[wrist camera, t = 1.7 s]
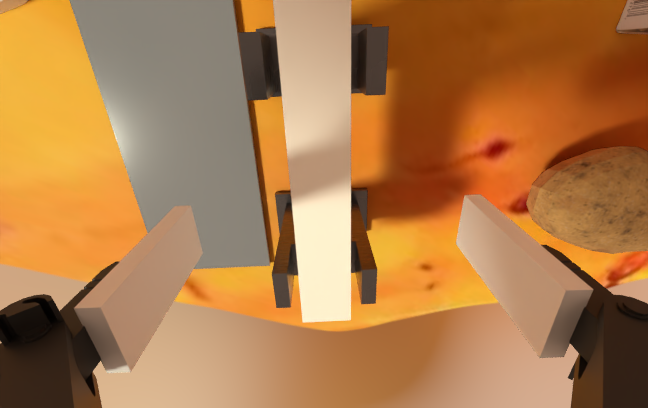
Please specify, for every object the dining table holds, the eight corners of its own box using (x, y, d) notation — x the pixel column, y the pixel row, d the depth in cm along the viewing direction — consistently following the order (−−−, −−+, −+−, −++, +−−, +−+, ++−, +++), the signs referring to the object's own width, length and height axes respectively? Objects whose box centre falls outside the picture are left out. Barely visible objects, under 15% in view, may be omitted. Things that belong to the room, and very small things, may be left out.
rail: (304, 289, 25) (302, 322, 22) (280, 4, 17) (272, -8, 13) (346, 287, 25) (350, 320, 22) (344, 2, 17) (351, -11, 13)
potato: (525, 125, 28) (598, 148, 21) (662, 145, 29) (777, 174, 22) (486, 218, 32) (535, 264, 25) (607, 232, 33) (688, 281, 26)
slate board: (162, 267, 34) (160, 270, 33) (68, -18, 22) (63, -19, 22) (270, 262, 34) (269, 265, 33) (230, -24, 23) (229, -26, 22)
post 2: (280, 235, 32) (264, 318, 22) (275, 191, 30) (254, 262, 20) (365, 231, 32) (388, 313, 22) (366, 188, 30) (393, 256, 20)
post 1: (264, 96, 26) (231, 121, 16) (257, 29, 24) (212, 8, 14) (369, 91, 26) (403, 113, 16) (370, 25, 24) (411, -1, 14)
